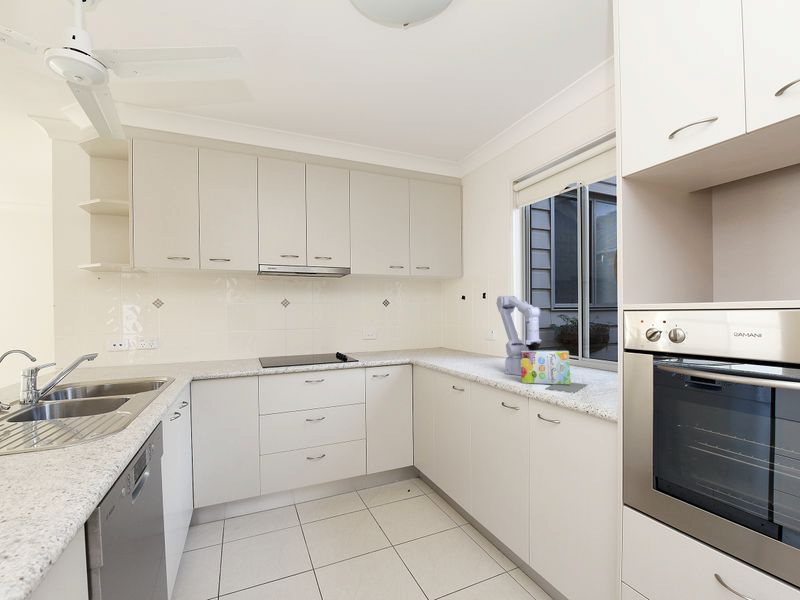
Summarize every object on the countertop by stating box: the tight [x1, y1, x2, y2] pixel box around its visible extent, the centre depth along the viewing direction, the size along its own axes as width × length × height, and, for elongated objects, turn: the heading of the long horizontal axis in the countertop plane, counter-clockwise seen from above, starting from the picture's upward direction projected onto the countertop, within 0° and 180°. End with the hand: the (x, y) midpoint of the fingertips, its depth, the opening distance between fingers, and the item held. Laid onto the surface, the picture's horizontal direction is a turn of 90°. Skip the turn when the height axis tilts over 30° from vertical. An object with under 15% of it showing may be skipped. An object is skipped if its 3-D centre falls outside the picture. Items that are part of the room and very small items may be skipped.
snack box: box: [520, 350, 571, 385], centre depth 172 cm, size 21×6×15 cm, turn 65°
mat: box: [545, 381, 588, 394], centre depth 164 cm, size 12×20×1 cm, turn 139°
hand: (533, 358), depth 184 cm, fingers closed
